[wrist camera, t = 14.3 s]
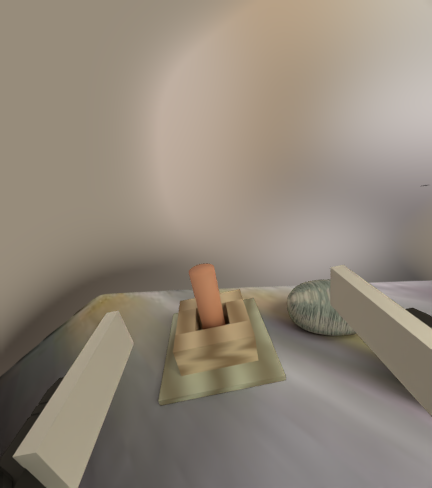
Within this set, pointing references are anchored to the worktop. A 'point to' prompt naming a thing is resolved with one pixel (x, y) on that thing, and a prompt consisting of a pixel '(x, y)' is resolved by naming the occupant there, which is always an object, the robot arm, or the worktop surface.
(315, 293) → the green striped ellipsoid
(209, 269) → the peg
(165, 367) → the socket
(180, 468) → the worktop surface
